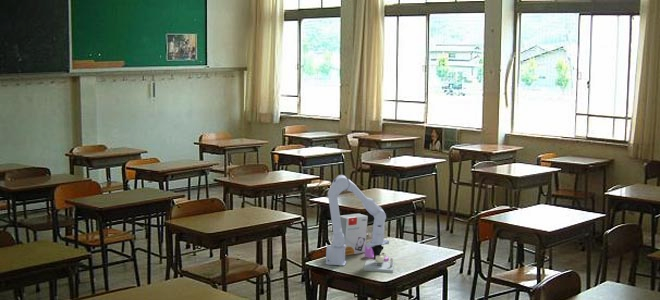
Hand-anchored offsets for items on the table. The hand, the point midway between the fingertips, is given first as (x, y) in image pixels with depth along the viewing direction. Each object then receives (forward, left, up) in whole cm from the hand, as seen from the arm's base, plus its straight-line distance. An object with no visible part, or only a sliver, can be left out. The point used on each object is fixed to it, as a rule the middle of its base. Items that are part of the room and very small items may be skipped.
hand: (376, 259), depth 405 cm
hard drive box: (-15, +20, -3) cm, 25 cm away
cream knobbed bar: (+2, -2, 0) cm, 3 cm away
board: (+2, -5, -2) cm, 6 cm away
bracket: (0, +13, -3) cm, 13 cm away
